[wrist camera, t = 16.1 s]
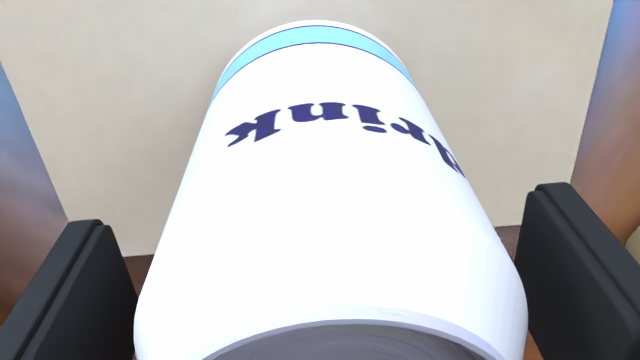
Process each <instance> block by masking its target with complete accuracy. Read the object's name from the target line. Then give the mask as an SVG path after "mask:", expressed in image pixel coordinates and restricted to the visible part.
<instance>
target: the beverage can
mask: <svg viewBox="0 0 640 360" xmlns="http://www.w3.org/2000/svg"><path fill="white" fill-rule="evenodd" d="M527 330H528V308H527V300H526V295H525V292H524V288H523V284H522V282H521V279H520V277H519V274H518V272H517V270H516V268H515V266H514V264H513V262H512V260H511V259H510V257H509V255H508V253H507V251H506V249H505V248H504V246H503V244H502V242H501V240H500V239H499V237H498V235H497V233H496V231H495V229H494V228H493V226H492V224H491V222H490V220H489V219H488V217H487V215H486V213H485V211H484V209H483V208H482V206H481V204H480V202H479V200H478V198H477V197H476V195H475V193H474V191H473V189H472V188H471V186H470V184H469V182H468V180H467V178H466V177H465V175H464V173H463V171H462V169H461V168H460V166H459V164H458V162H457V160H456V158H455V157H454V155H453V153H452V151H451V149H450V148H449V146H448V144H447V142H446V140H445V138H444V137H443V135H442V133H441V131H440V129H439V128H438V126H437V124H436V122H435V120H434V118H433V117H432V115H431V113H430V111H429V109H428V108H427V106H426V104H425V102H424V100H423V98H422V97H421V95H420V93H419V91H418V89H417V88H416V86H415V84H414V82H413V80H412V78H411V77H410V75H409V73H408V71H407V69H406V68H405V66H404V64H403V63H402V62H401V60H400V59H399V58H398V56H397V55H396V54H395V53H394V52H393V51H392V50H391V49H390V48H389V47H388V46H387V45H385V44H384V43H383V42H382V41H380V40H379V39H377V38H376V37H375V36H373V35H371V34H369V33H367V32H366V31H364V30H361V29H359V28H357V27H354V26H351V25H348V24H344V23H340V22H334V21H327V20H305V21H298V22H292V23H288V24H285V25H281V26H279V27H276V28H273V29H271V30H269V31H267V32H265V33H263V34H261V35H259V36H258V37H256V38H254V39H253V40H251V41H250V42H249V43H248V44H246V45H245V46H244V47H243V48H242V49H241V50H240V51H239V52H238V53H237V54H236V55H235V56H234V57H233V58H232V60H231V61H230V62H229V63H228V65H227V66H226V68H225V69H224V71H223V73H222V75H221V77H220V79H219V81H218V84H217V86H216V89H215V92H214V94H213V97H212V100H211V103H210V105H209V108H208V111H207V113H206V116H205V119H204V122H203V124H202V127H201V130H200V133H199V135H198V138H197V141H196V143H195V146H194V149H193V152H192V154H191V157H190V160H189V163H188V165H187V168H186V171H185V174H184V176H183V179H182V182H181V184H180V187H179V190H178V193H177V195H176V198H175V201H174V204H173V206H172V209H171V212H170V215H169V217H168V220H167V223H166V225H165V228H164V231H163V234H162V236H161V239H160V242H159V245H158V247H157V250H156V253H155V256H154V258H153V261H152V264H151V266H150V269H149V272H148V275H147V277H146V280H145V283H144V286H143V288H142V291H141V294H140V297H139V299H138V303H137V308H136V312H135V317H134V346H135V353H136V358H137V360H523V357H524V351H525V344H526V338H527Z"/></svg>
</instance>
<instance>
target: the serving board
mask: <svg viewBox="0 0 640 360" xmlns="http://www.w3.org/2000/svg"><path fill="white" fill-rule="evenodd" d="M613 3H614V0H0V62H1V64H2V67H3V69H4V71H5V74H6V76H7V78H8V81H9V83H10V86H11V88H12V90H13V93H14V95H15V97H16V100H17V102H18V104H19V107H20V109H21V111H22V114H23V116H24V118H25V121H26V123H27V125H28V128H29V130H30V132H31V135H32V137H33V139H34V142H35V144H36V146H37V149H38V151H39V153H40V156H41V158H42V160H43V163H44V165H45V167H46V170H47V172H48V174H49V177H50V179H51V181H52V184H53V186H54V188H55V191H56V193H57V195H58V198H59V200H60V203H61V205H62V207H63V210H64V212H65V214H66V217H67V219H68V221H69V222H71V221H77V220H90V219H99V220H101V221H102V222H103V224H104V225H110V226H111V228H112V230H113V232H114V235H115V237H116V240H117V243H118V246H119V248H120V251H121V254H122V256H123V257H128V256H140V255H153V254H155V253H156V250H157V247H158V245H159V242H160V239H161V236H162V234H163V231H164V228H165V225H166V223H167V220H168V217H169V215H170V212H171V209H172V206H173V204H174V201H175V198H176V195H177V193H178V190H179V187H180V184H181V182H182V179H183V176H184V174H185V171H186V168H187V165H188V163H189V160H190V157H191V154H192V152H193V149H194V146H195V143H196V141H197V138H198V135H199V133H200V130H201V127H202V124H203V122H204V119H205V116H206V113H207V111H208V108H209V105H210V103H211V100H212V97H213V94H214V92H215V89H216V86H217V84H218V81H219V79H220V77H221V75H222V73H223V71H224V69H225V68H226V66H227V65H228V63H229V62H230V61H231V60H232V58H233V57H234V56H235V55H236V54H237V53H238V52H239V51H240V50H241V49H242V48H243V47H244V46H245V45H246V44H248V43H249V42H250V41H251V40H253V39H254V38H256V37H258V36H259V35H261V34H263V33H265V32H267V31H269V30H271V29H273V28H276V27H279V26H281V25H285V24H288V23H292V22H298V21H305V20H327V21H334V22H340V23H344V24H348V25H351V26H354V27H357V28H359V29H361V30H364V31H366V32H367V33H369V34H371V35H373V36H375V37H376V38H377V39H379V40H380V41H382V42H383V43H384V44H385V45H387V46H388V47H389V48H390V49H391V50H392V51H393V52H394V53H395V54H396V55H397V56H398V58H399V59H400V60H401V62H402V63H403V64H404V66H405V68H406V69H407V71H408V73H409V75H410V77H411V78H412V80H413V82H414V84H415V86H416V88H417V89H418V91H419V93H420V95H421V97H422V98H423V100H424V102H425V104H426V106H427V108H428V109H429V111H430V113H431V115H432V117H433V118H434V120H435V122H436V124H437V126H438V128H439V129H440V131H441V133H442V135H443V137H444V138H445V140H446V142H447V144H448V146H449V148H450V149H451V151H452V153H453V155H454V157H455V158H456V160H457V162H458V164H459V166H460V168H461V169H462V171H463V173H464V175H465V177H466V178H467V180H468V182H469V184H470V186H471V188H472V189H473V191H474V193H475V195H476V197H477V198H478V200H479V202H480V204H481V206H482V208H483V209H484V211H485V213H486V215H487V217H488V219H489V220H490V222H491V224H492V226H493V227H503V226H515V225H521V223H522V218H523V213H524V207H525V202H526V197H527V194H528V192H530V191H534V190H535V187H536V186H537V185H538V184H544V183H556V182H567V183H569V184H570V181H571V177H572V173H573V169H574V165H575V161H576V156H577V152H578V148H579V144H580V140H581V136H582V131H583V127H584V123H585V119H586V115H587V111H588V107H589V102H590V98H591V94H592V90H593V86H594V82H595V78H596V73H597V69H598V65H599V61H600V57H601V53H602V49H603V44H604V40H605V36H606V32H607V28H608V24H609V19H610V15H611V11H612V7H613Z"/></svg>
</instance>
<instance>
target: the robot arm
mask: <svg viewBox="0 0 640 360" xmlns="http://www.w3.org/2000/svg"><path fill="white" fill-rule="evenodd" d="M514 266H515V268H516V270H517V272H518V274H519V277H520V279H521V282H522V284H523V288H524V292H525V295H526V300H527V308H528V329H529V331H530V333H531V335H532V337H533V339H534V341H535V343H536V345H537V347H538V349H539V351H540V353H541V355H542V357H543V359H544V360H640V264H639V263H638V262H637V261H636V260H635V259H634V257H633V256H632V255H631V254H630V253H629V252H628V251H627V249H626V248H625V247H624V246H623V245H622V244H621V243H620V242H619V240H618V239H617V238H616V237H615V236H614V235H613V234H612V232H611V231H610V230H609V229H608V228H607V227H606V225H605V224H604V223H603V222H602V221H601V220H600V219H599V217H598V216H597V215H596V214H595V213H594V212H593V210H592V209H591V208H590V207H589V206H588V205H587V204H586V202H585V201H584V200H583V199H582V198H581V197H580V195H579V194H578V193H577V192H576V191H575V190H574V189H573V187H572V186H571V185H570V184H569V183H567V182H556V183H544V184H538V185H537V186H536V187H535V190H534V191H530V192H528V194H527V197H526V202H525V207H524V213H523V218H522V223H521V229H520V234H519V239H518V245H517V250H516V255H515V261H514ZM137 303H138V297H137V294H136V291H135V289H134V286H133V283H132V281H131V278H130V275H129V273H128V270H127V267H126V264H125V262H124V259H123V256H122V254H121V251H120V248H119V246H118V243H117V240H116V237H115V235H114V232H113V230H112V228H111V226H110V225H104V224H103V222H102V221H101V220H99V219H90V220H77V221H71V222H69V223H68V225H67V226H66V227H65V229H64V231H63V232H62V234H61V235H60V237H59V238H58V240H57V241H56V243H55V244H54V246H53V248H52V249H51V251H50V252H49V254H48V255H47V257H46V258H45V260H44V261H43V263H42V265H41V266H40V268H39V269H38V271H37V272H36V274H35V275H34V277H33V279H32V280H31V282H30V283H29V285H28V286H27V288H26V289H25V291H24V292H23V294H22V296H21V297H20V299H19V300H18V302H17V303H16V305H15V306H14V308H13V309H12V311H11V313H10V314H9V316H8V317H7V319H6V320H5V322H4V323H3V325H2V326H1V328H0V360H132V358H133V355H134V352H135V346H134V317H135V312H136V308H137Z"/></svg>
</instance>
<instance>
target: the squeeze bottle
mask: <svg viewBox="0 0 640 360" xmlns="http://www.w3.org/2000/svg"><path fill="white" fill-rule="evenodd" d="M625 248H626V249H627V251H628V252H629V253H630V254H631V255H632V256H633V257H634V259H635V260H636V261H637V262H638V263H639V264H640V226H639V227H638V228H637V229H636V230H635V231H634V233H633V234H632V235H631V236H630V237H629V238H628V240H627V242H626V245H625Z"/></svg>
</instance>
